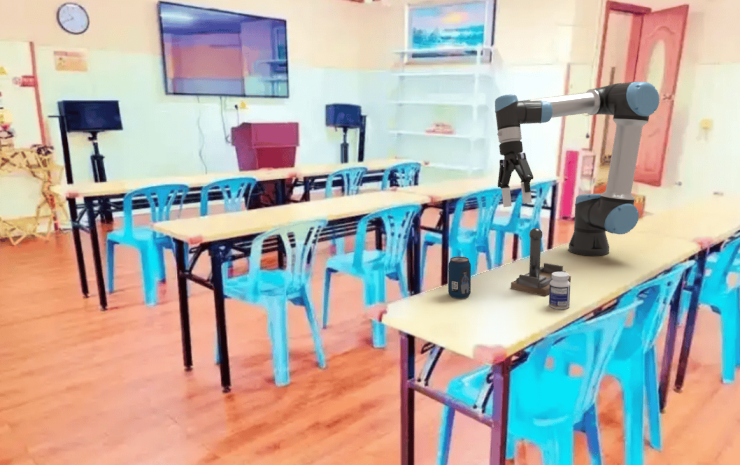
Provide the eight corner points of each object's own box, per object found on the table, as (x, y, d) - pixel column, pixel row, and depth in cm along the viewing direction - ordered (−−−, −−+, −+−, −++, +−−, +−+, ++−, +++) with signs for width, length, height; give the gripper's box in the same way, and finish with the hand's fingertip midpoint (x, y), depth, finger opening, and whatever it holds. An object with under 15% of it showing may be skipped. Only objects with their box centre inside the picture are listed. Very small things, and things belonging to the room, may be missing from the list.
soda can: (454, 290, 179) (454, 254, 177) (474, 294, 175) (474, 257, 173) (444, 297, 174) (444, 260, 171) (464, 300, 170) (464, 263, 167)
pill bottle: (554, 301, 167) (556, 269, 165) (572, 306, 163) (574, 273, 161) (545, 306, 163) (546, 274, 161) (563, 311, 159) (565, 277, 157)
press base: (535, 275, 193) (536, 261, 192) (572, 282, 184) (572, 267, 183) (509, 288, 180) (509, 273, 179) (547, 296, 171) (547, 280, 170)
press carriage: (529, 279, 182) (531, 225, 178) (545, 282, 178) (548, 227, 174) (522, 283, 178) (524, 228, 174) (538, 286, 174) (540, 230, 171)
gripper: (484, 149, 198) (490, 209, 197) (518, 134, 173) (525, 202, 173) (503, 148, 199) (509, 207, 199) (539, 133, 175) (547, 200, 175)
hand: (517, 205), depth 186 cm, fingers open, 13 cm apart
